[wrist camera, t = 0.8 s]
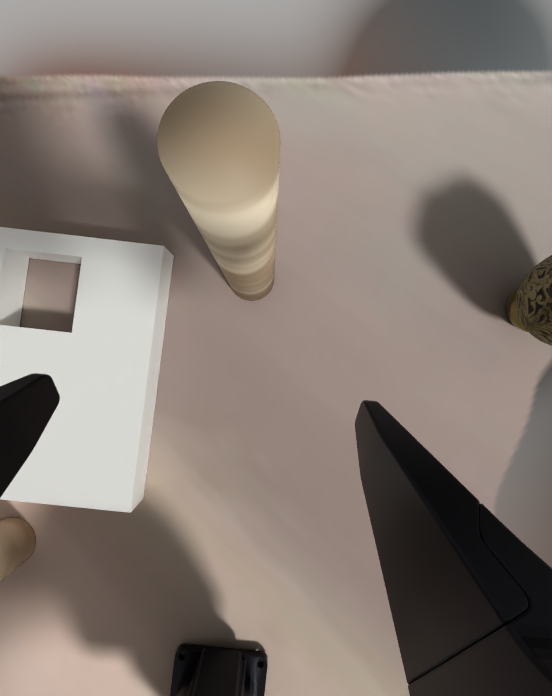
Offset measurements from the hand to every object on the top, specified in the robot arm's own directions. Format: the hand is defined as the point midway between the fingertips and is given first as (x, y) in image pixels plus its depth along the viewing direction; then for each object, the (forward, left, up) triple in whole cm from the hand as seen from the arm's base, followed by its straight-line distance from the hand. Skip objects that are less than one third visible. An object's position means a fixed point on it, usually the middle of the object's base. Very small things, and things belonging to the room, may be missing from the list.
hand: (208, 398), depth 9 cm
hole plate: (-1, +12, -13) cm, 18 cm away
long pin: (+7, 0, -13) cm, 15 cm away
